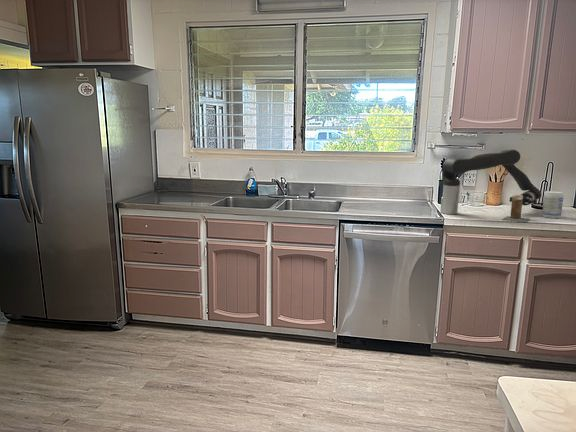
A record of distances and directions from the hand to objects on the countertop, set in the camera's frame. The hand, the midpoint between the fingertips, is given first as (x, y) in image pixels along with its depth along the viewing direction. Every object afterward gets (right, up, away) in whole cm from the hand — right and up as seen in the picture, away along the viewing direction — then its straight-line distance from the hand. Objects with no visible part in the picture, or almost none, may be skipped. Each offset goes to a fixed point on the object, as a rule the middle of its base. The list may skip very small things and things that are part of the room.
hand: (520, 201), depth 245 cm
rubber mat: (-7, -11, -9) cm, 16 cm away
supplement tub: (+17, -9, -1) cm, 19 cm away
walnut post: (-7, -10, -6) cm, 13 cm away
